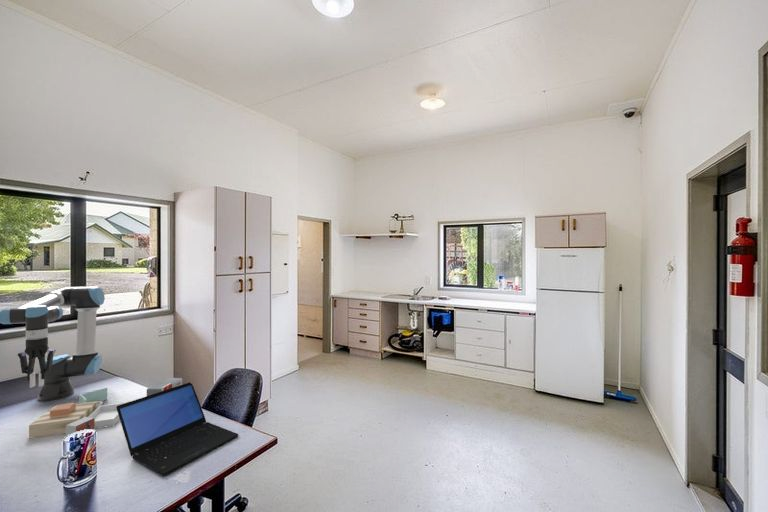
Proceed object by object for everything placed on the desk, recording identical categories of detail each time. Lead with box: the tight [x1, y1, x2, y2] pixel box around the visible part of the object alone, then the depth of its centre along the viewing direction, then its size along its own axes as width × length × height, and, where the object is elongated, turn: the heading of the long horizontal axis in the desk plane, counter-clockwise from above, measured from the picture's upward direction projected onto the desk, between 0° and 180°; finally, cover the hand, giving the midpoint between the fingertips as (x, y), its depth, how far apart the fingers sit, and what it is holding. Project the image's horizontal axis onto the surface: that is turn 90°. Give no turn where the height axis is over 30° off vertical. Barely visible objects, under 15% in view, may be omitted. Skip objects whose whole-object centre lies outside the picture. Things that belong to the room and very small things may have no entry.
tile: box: [49, 402, 77, 417], centre depth 165 cm, size 7×7×3 cm
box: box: [88, 401, 129, 429], centre depth 171 cm, size 20×13×4 cm, turn 20°
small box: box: [65, 417, 95, 437], centre depth 147 cm, size 8×6×10 cm
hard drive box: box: [146, 377, 183, 396], centre depth 166 cm, size 16×8×20 cm, turn 175°
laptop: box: [116, 382, 239, 476], centre depth 148 cm, size 33×38×19 cm
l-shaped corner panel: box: [78, 386, 108, 407], centre depth 186 cm, size 12×12×8 cm
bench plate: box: [28, 401, 98, 439], centre depth 165 cm, size 20×18×6 cm
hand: (36, 386), depth 161 cm, fingers open, 3 cm apart
